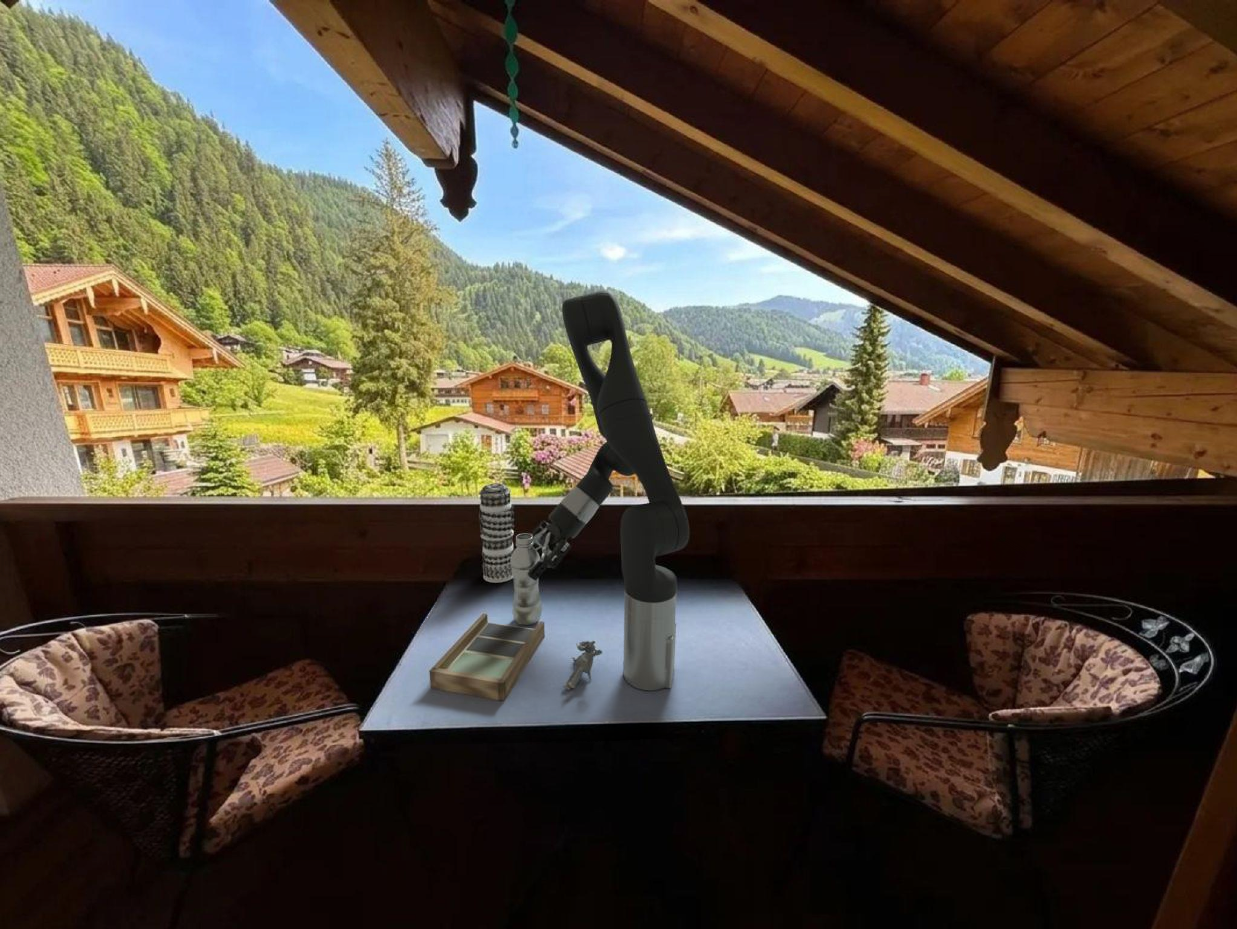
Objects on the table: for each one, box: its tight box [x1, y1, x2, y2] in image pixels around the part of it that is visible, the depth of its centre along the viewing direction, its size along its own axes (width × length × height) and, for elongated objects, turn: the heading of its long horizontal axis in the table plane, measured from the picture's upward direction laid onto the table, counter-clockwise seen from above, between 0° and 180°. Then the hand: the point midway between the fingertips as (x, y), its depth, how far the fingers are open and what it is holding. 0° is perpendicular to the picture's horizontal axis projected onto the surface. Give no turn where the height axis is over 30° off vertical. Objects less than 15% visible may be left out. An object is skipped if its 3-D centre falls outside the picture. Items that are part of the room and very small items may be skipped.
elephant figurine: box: [562, 640, 603, 691], centre depth 84 cm, size 10×6×9 cm
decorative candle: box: [476, 482, 515, 584], centre depth 121 cm, size 9×9×25 cm
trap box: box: [428, 613, 546, 702], centre depth 89 cm, size 14×19×4 cm
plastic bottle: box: [510, 532, 543, 626], centre depth 100 cm, size 6×7×20 cm
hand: (525, 569), depth 100 cm, fingers open, 8 cm apart
